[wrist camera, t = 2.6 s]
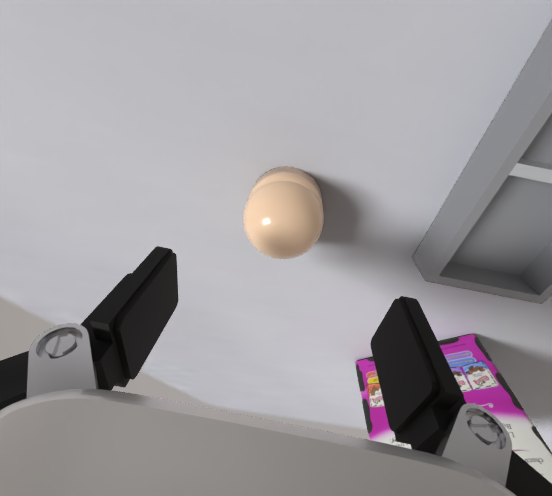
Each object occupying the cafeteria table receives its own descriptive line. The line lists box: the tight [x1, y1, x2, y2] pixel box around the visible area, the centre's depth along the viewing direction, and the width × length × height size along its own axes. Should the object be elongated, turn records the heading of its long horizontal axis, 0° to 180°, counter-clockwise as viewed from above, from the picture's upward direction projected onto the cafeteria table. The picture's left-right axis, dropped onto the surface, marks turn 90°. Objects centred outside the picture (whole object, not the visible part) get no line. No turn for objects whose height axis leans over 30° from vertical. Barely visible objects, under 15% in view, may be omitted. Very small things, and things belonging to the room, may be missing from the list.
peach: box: [243, 167, 324, 259], centre depth 16 cm, size 5×5×5 cm
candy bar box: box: [355, 334, 552, 483], centre depth 20 cm, size 11×5×16 cm, turn 119°
